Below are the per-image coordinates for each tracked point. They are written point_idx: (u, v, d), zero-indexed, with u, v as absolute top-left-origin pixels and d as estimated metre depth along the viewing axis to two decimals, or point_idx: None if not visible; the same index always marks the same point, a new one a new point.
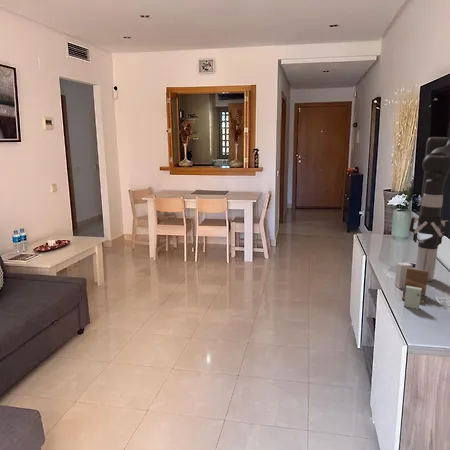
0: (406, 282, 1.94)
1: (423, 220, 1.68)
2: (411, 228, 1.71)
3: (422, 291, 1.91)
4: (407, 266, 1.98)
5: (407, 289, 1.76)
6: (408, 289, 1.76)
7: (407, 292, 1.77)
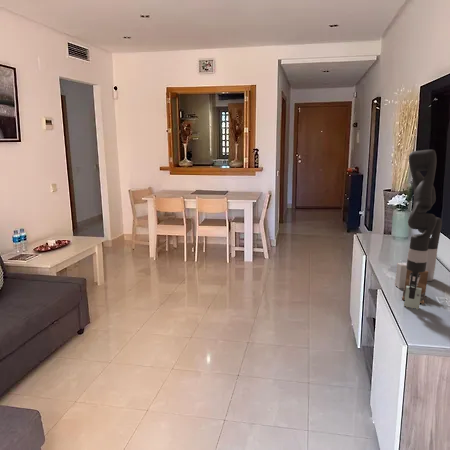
0: (406, 282, 1.94)
1: (417, 275, 1.73)
2: (415, 287, 1.70)
3: (422, 291, 1.91)
4: None
5: (407, 289, 1.76)
6: (408, 289, 1.76)
7: (407, 292, 1.77)
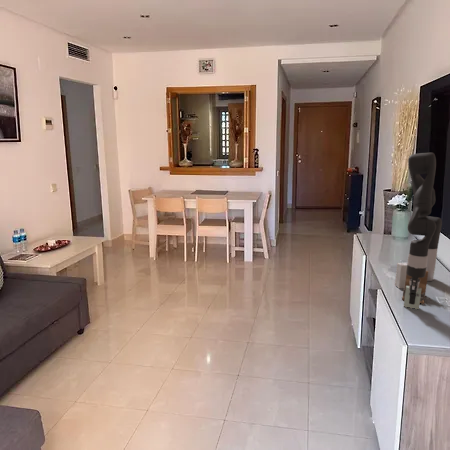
0: (406, 282, 1.94)
1: (417, 280, 1.73)
2: None
3: (422, 291, 1.91)
4: None
5: (407, 289, 1.76)
6: (408, 289, 1.76)
7: (407, 292, 1.77)
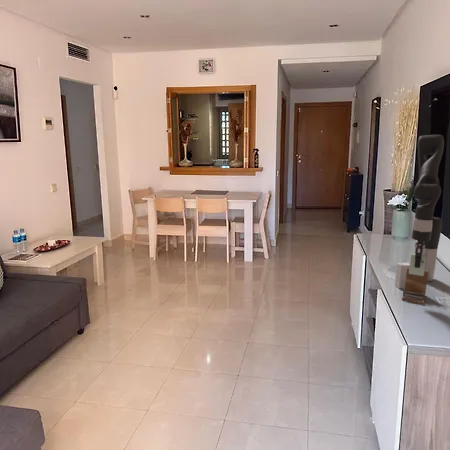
0: (406, 282, 1.94)
1: (422, 244, 1.78)
2: (421, 256, 1.78)
3: (422, 291, 1.91)
4: (407, 266, 1.98)
5: (413, 256, 1.82)
6: (413, 256, 1.82)
7: (412, 259, 1.82)
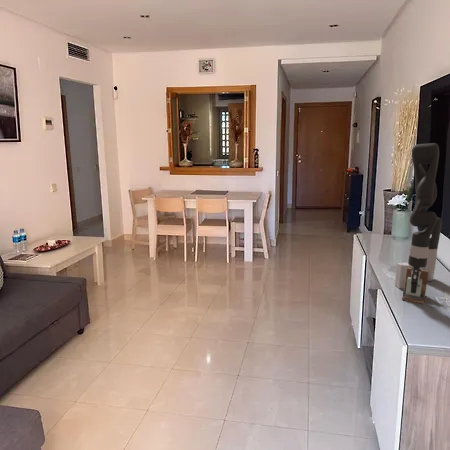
0: (406, 282, 1.94)
1: (419, 270, 1.81)
2: (417, 282, 1.81)
3: (422, 291, 1.91)
4: (407, 266, 1.98)
5: (409, 280, 1.85)
6: (409, 280, 1.84)
7: (408, 283, 1.85)
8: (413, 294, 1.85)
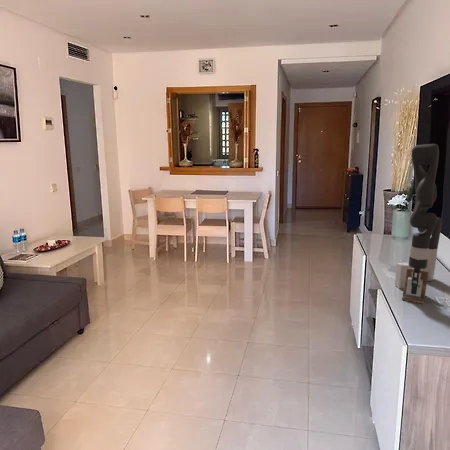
0: (406, 282, 1.94)
1: (419, 272, 1.81)
2: (417, 283, 1.78)
3: (422, 291, 1.91)
4: (407, 266, 1.98)
5: (409, 280, 1.84)
6: (410, 280, 1.84)
7: (409, 283, 1.84)
8: (413, 294, 1.84)
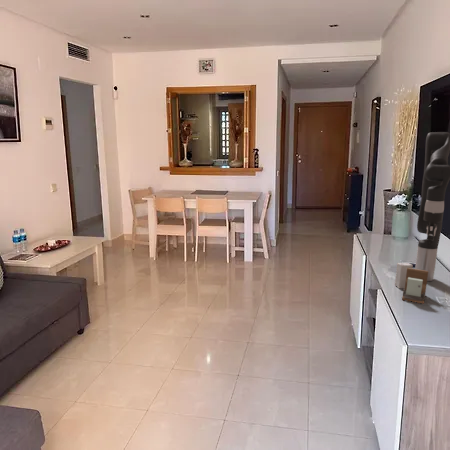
0: (406, 282, 1.94)
1: (434, 226, 1.79)
2: (433, 236, 1.77)
3: (422, 291, 1.91)
4: (407, 266, 1.98)
5: (409, 280, 1.84)
6: (410, 280, 1.84)
7: (409, 283, 1.84)
8: (413, 294, 1.84)
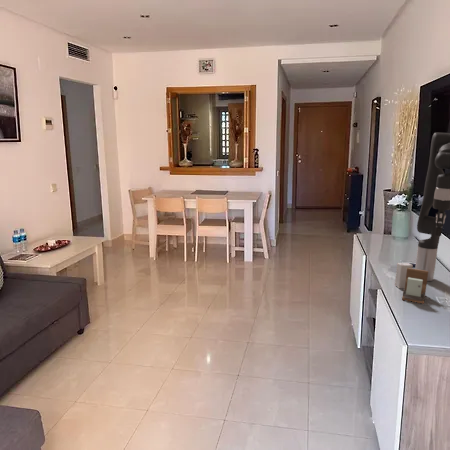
0: (406, 282, 1.94)
1: (444, 213, 1.80)
2: (442, 224, 1.77)
3: (422, 291, 1.91)
4: (407, 266, 1.98)
5: (409, 280, 1.84)
6: (410, 280, 1.84)
7: (409, 283, 1.84)
8: (413, 294, 1.84)
